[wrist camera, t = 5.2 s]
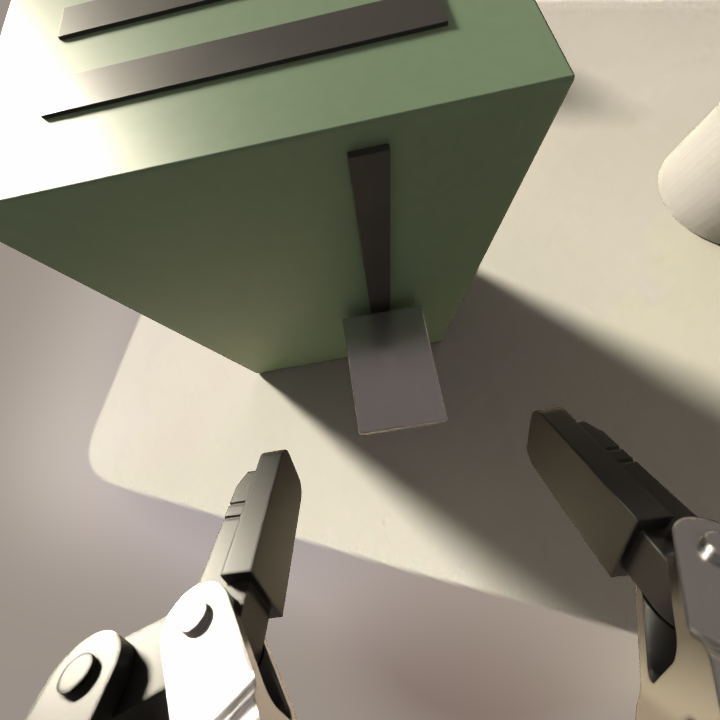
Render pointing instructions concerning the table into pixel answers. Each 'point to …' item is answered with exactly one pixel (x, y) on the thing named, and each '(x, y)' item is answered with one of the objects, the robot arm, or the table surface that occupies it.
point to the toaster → (271, 156)
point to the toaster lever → (393, 371)
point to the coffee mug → (695, 179)
